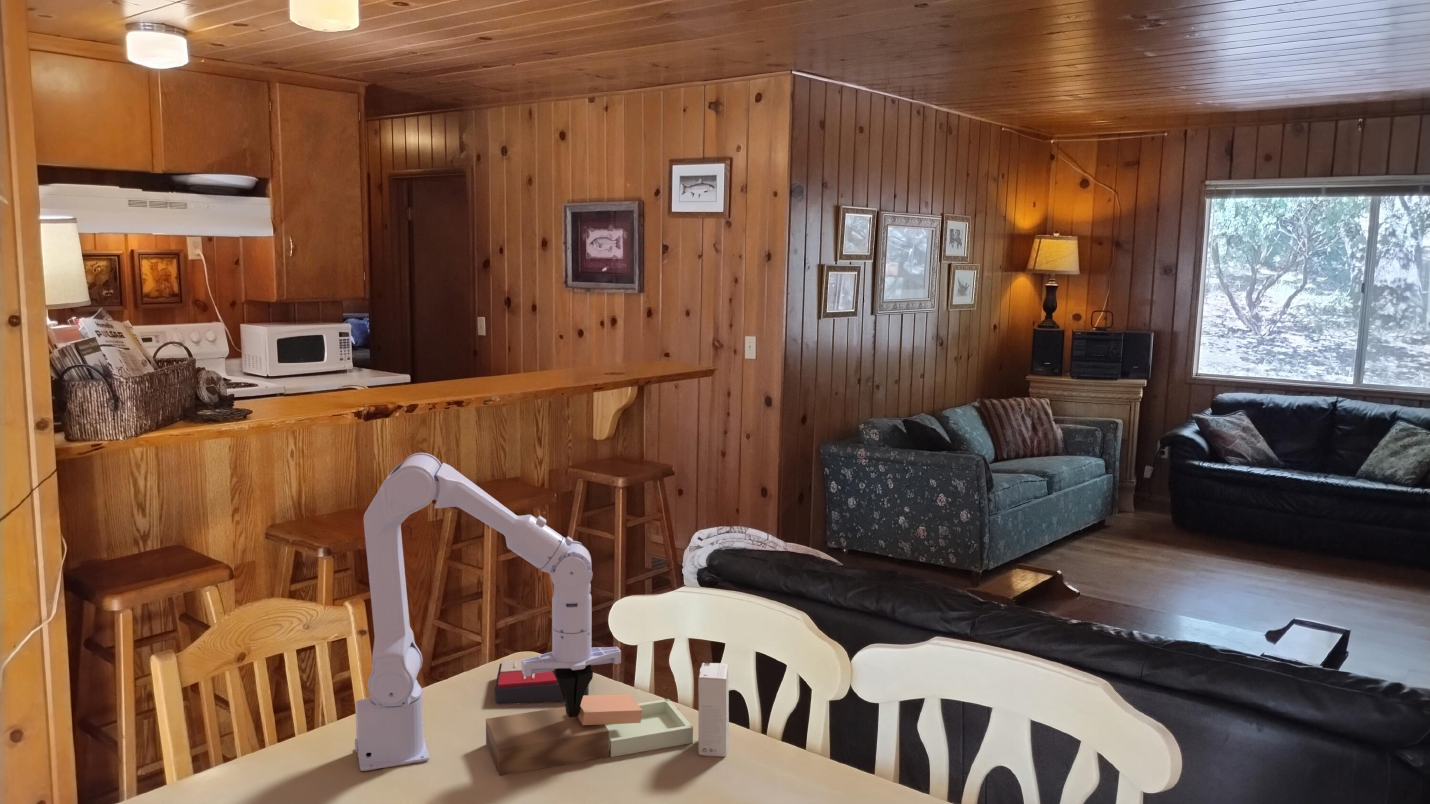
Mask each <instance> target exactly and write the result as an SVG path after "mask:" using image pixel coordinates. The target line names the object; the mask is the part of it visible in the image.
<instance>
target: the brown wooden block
mask: <svg viewBox="0 0 1430 804" xmlns="http://www.w3.org/2000/svg"><path fill="white" fill-rule="evenodd" d="M485 744H486V745H485V746H486V747H487V749H488V753H489V754H490V757H491V760H492V762H493V764H494V766H495V769H496V772H497V774H498V776H505V775H511V774H515V773H523V772H529V771H534V770H539V769H545V768H550V767H551V768H552V767H556V766H563V765H567V764H573V763H579V762H586V761H591V760H595V759H601V758H608V757H609V756H610V754H609V730H608V729H607V727H606V726H605V724H603V725H582V723H581V722H580V720H579V719H578V717H577V716H576V717H569V716H568V715H567V713H566V708H565V706H562V707H554V708H548V709H542V710H536V711H535V710H534V711H527V712H523V713H514V714H510V715H503V716H496V717H489V718H485Z"/></svg>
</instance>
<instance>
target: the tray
mask: <svg viewBox="0 0 1430 804" xmlns="http://www.w3.org/2000/svg"><path fill="white" fill-rule="evenodd" d="M637 704H638V705H639V707H640V708H641V709H642V716H641V723H627V724H605V726H606V727H607V729H608V730H609V756H610V758H614V757H618V756H624V755H631V754H636V753H637V754H638V753H643V752H647V751H654V750H659V749H664V748H671V747H676V746H682V745H688V744H693V743H694V726H693V725H692V724H691V723H690V722H689V720H688V719H687V718H686V717H685V716H684V715H683V714H682V712H681V711H680V710H679V709H678V707H676V705H675V704H674V703H673V702H672V701H671V700H670V698H667V699H666V698H665V699H657V700H652V701H645V702H639V703H637Z"/></svg>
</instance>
